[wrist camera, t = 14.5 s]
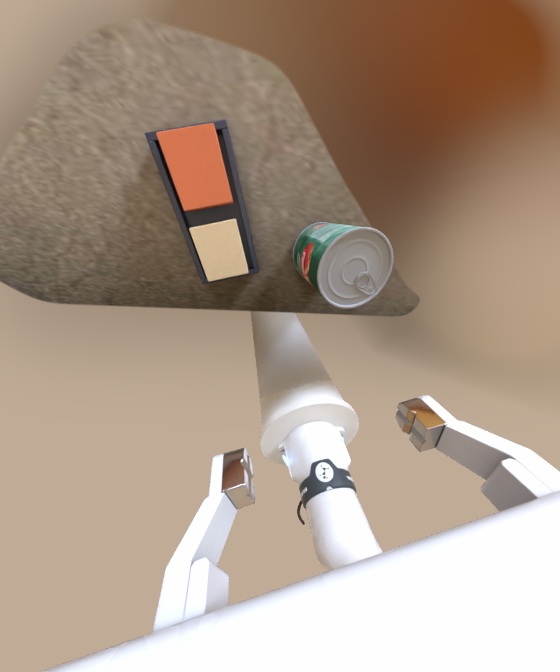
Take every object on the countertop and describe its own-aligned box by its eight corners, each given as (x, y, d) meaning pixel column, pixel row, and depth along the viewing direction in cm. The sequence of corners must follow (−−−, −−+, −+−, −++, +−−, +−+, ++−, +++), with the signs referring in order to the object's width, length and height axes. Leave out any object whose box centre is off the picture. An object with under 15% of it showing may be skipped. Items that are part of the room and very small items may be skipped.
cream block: (247, 266, 28) (248, 273, 24) (212, 273, 27) (208, 281, 24) (235, 218, 25) (235, 219, 21) (195, 226, 24) (188, 228, 21)
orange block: (169, 145, 20) (155, 132, 17) (217, 137, 21) (213, 122, 17) (191, 211, 24) (184, 211, 20) (233, 203, 24) (232, 201, 20)
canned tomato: (281, 257, 28) (301, 279, 19) (320, 207, 26) (364, 204, 17) (318, 290, 32) (349, 321, 23) (355, 249, 30) (407, 265, 20)
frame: (258, 268, 29) (259, 272, 27) (205, 280, 28) (202, 284, 27) (226, 126, 21) (225, 118, 19) (152, 139, 20) (144, 132, 19)
